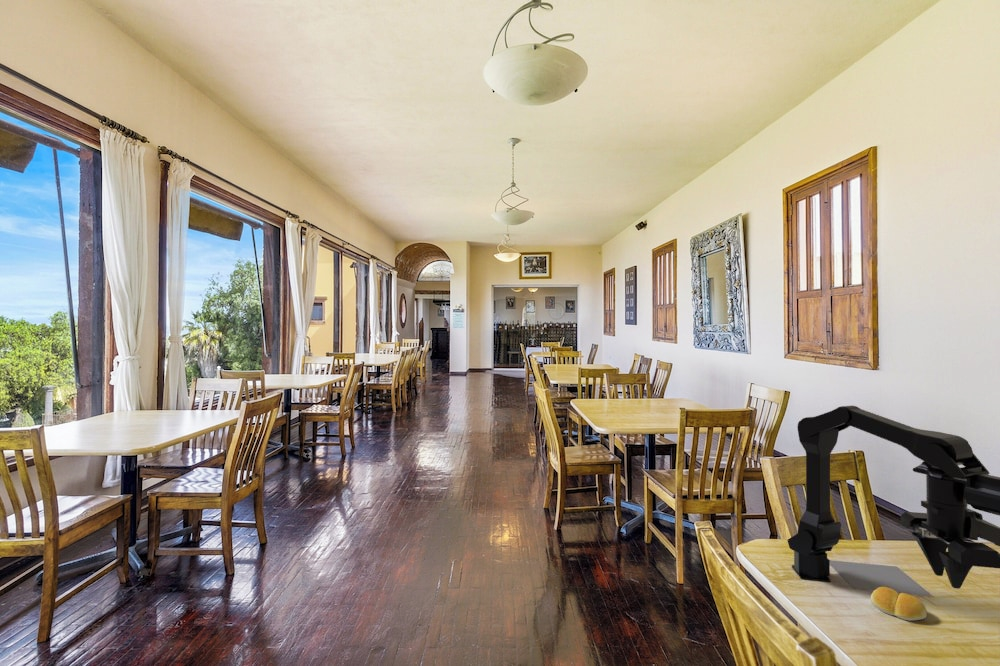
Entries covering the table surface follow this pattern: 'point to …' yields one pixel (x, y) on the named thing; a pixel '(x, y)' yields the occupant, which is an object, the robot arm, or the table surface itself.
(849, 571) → the serving mat
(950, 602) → the table surface
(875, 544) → the table surface
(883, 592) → the bread roll
